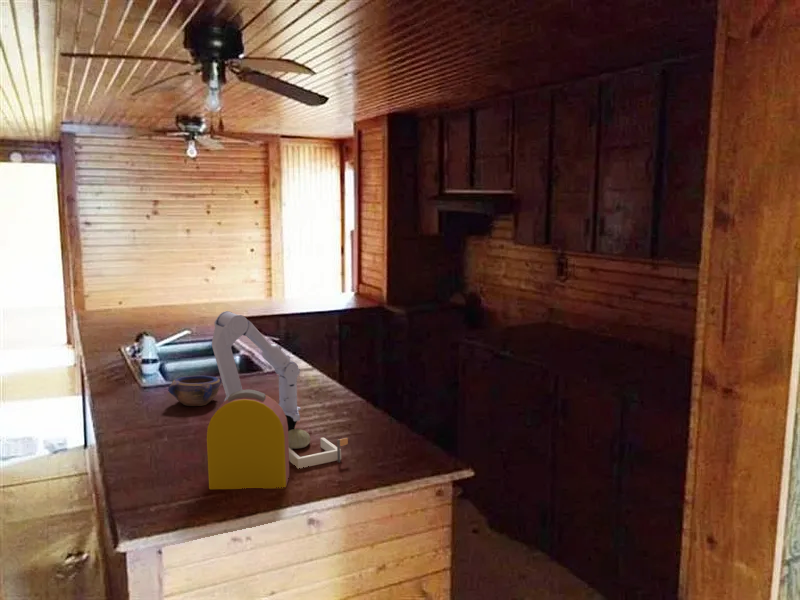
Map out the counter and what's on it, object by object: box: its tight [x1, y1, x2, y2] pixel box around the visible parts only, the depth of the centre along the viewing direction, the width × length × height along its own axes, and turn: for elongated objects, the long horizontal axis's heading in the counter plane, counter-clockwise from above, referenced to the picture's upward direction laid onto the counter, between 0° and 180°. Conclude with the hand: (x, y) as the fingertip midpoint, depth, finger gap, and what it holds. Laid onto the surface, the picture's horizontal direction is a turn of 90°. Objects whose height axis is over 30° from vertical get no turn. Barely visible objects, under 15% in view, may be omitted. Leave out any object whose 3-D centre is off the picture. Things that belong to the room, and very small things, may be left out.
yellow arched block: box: [206, 388, 290, 490], centre depth 187 cm, size 21×9×26 cm, turn 92°
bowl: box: [167, 375, 222, 407], centre depth 261 cm, size 18×18×10 cm
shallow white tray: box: [289, 437, 349, 470], centre depth 206 cm, size 16×14×7 cm
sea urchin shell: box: [288, 428, 311, 450], centre depth 217 cm, size 9×8×8 cm
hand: (289, 436), depth 222 cm, fingers closed
